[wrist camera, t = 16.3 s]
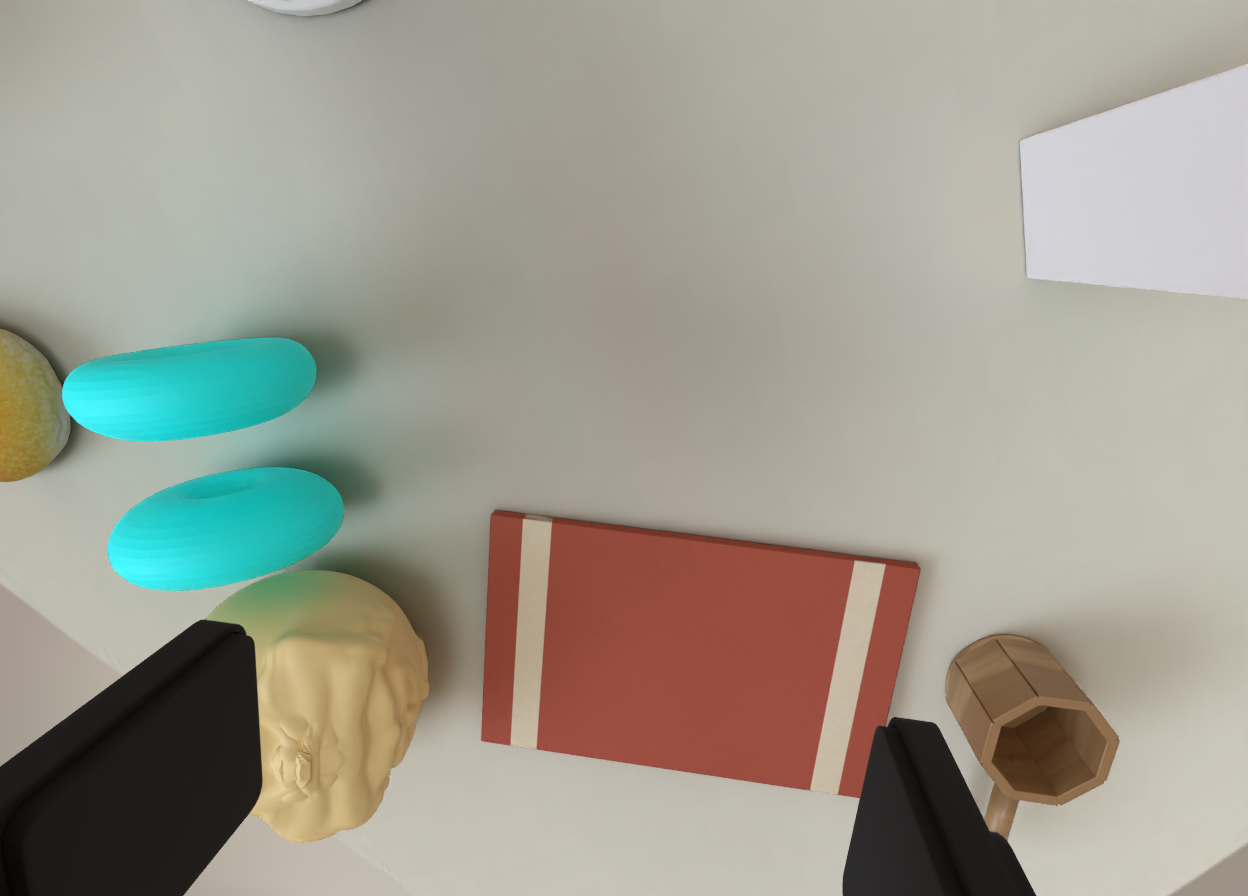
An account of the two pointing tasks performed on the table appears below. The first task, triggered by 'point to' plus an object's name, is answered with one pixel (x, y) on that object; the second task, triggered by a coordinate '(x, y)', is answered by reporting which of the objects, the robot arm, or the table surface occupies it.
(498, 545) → the towel
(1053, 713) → the scoop
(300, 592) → the gathered cream pouch
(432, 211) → the table surface
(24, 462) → the bread roll
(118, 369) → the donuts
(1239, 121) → the milk
